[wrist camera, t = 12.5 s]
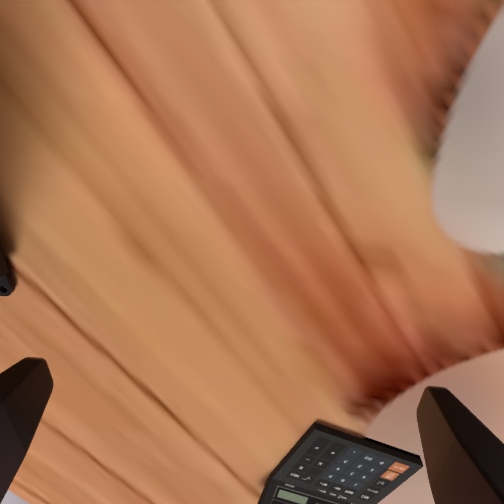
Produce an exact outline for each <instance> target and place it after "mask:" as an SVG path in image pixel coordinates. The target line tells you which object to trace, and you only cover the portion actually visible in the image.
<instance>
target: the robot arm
mask: <svg viewBox="0 0 504 504" xmlns="http://www.w3.org/2000/svg"><path fill="white" fill-rule="evenodd" d="M14 290H15V285H14V282H13V279H12V276H11V274H10V271H9V268H8V265H7V262H6V260H5V257H4V254H3V251H2V248H1V246H0V296H9V295H10V294H11V293H13V292H14ZM52 390H53V379H52V376H51V373H50V370H49V367H48V364H47V362H46V360H45V359H43V358H36V357H27V358H24V359H22V360H21V361H19V362H18V363H16V364H15V365H13V366H11V367H10V368H8V369H7V370H5V371H4V372H2V373H1V374H0V503H1V502H2V500H3V498H4V496H5V494H6V492H7V490H8V488H9V486H10V484H11V483H12V481H13V479H14V477H15V475H16V473H17V471H18V469H19V467H20V465H21V463H22V461H23V459H24V457H25V455H26V453H27V451H28V449H29V447H30V444H31V442H32V439H33V437H34V435H35V432H36V430H37V427H38V425H39V422H40V420H41V417H42V415H43V412H44V410H45V408H46V405H47V403H48V400H49V398H50V395H51V393H52ZM417 422H418V427H419V432H420V437H421V442H422V447H423V453H424V458H425V462H426V468H427V473H428V478H429V482H430V487H431V491H432V494H433V498H434V501H435V504H504V444H503V443H502V442H501V441H500V440H499V439H498V438H497V437H496V436H495V435H494V434H493V433H492V432H491V431H490V430H489V429H488V428H487V427H486V426H485V425H484V424H483V423H482V422H481V421H480V420H479V419H478V418H477V417H476V416H475V415H474V414H473V413H471V412H470V410H469V409H467V407H465V406H464V405H463V404H462V403H461V402H460V401H459V400H458V399H457V398H456V397H455V396H454V395H453V394H452V393H451V392H450V391H449V390H448V389H446V388H444V387H436V386H428V387H426V388H425V390H424V392H423V395H422V397H421V400H420V403H419V405H418V408H417Z"/></svg>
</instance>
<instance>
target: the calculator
mask: <svg viewBox="0 0 504 504" xmlns="http://www.w3.org/2000/svg"><path fill="white" fill-rule="evenodd" d="M422 467H423V464H422V461H421V458H420V455H417V454H414V453H411V452H408V451H405V450H402V449H399V448H396V447H394V446H391V445H388V444H385V443H382V442H379V441H376V440H373V439H370V438H367V437H365V436H364V438H363V439H361V438H358V437H355V436H352V435H349V434H346V433H343V432H341V431H338V430H335V429H332V428H329V427H326V426H323V425H320V424H317V423H314V424H313V425H312V426H311V427H310V428H309V429H308V431H307V432H306V433H305V434H304V435H303V436H302V438H301V439H300V440H299V441H298V442H297V443H296V445H295V446H294V447H293V448H292V449H291V450H290V452H289V453H288V454H287V455H286V456H285V457H284V459H283V460H282V461H281V462H280V463H279V464H278V466H277V467H276V468H275V469H274V470H273V471H272V473H271V474H270V475H269V478H268V480H267V482H266V485H265V487H264V489H263V492H262V494H261V497H260V499H259V501H258V504H377V503H378V502H380V501H381V500H382V499H383V498H385V497H386V496H387V495H388V494H390V493H391V492H392V491H393V490H395V489H396V488H397V487H398V486H400V485H401V484H402V483H403V482H404V481H406V480H407V479H408V478H409V477H411V476H412V475H413V474H414V473H416V472H417V471H418V470H419V469H421V468H422Z"/></svg>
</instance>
